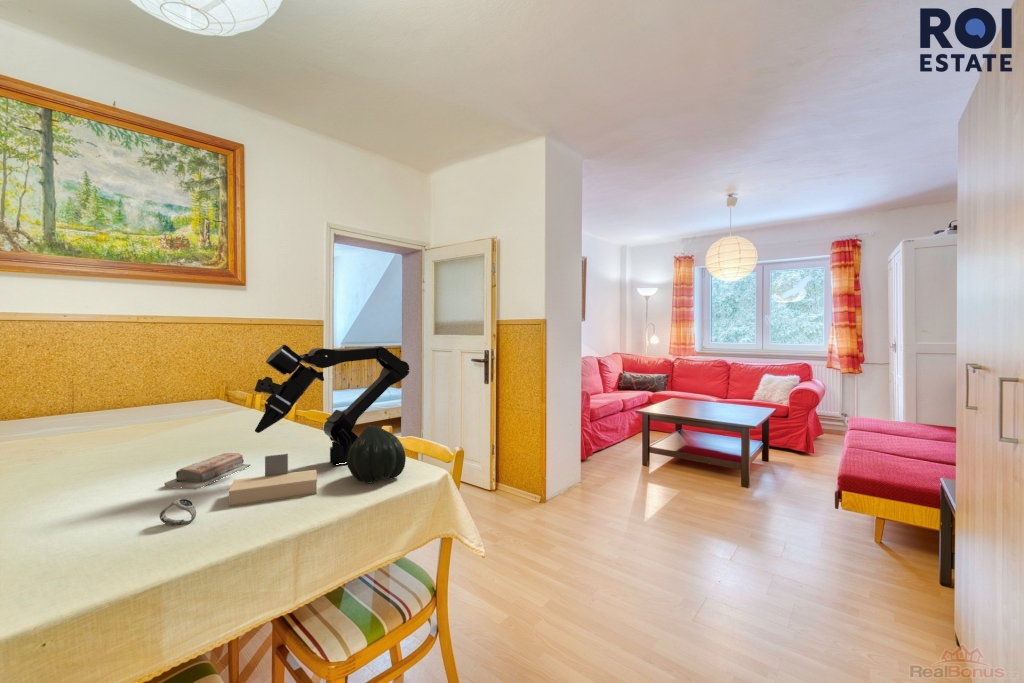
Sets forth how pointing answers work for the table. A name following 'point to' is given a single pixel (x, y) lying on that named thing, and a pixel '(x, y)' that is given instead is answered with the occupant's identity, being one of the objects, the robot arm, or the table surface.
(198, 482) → the packaged product
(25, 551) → the table surface
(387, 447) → the squash
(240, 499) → the cardboard box
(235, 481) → the lid
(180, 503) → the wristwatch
